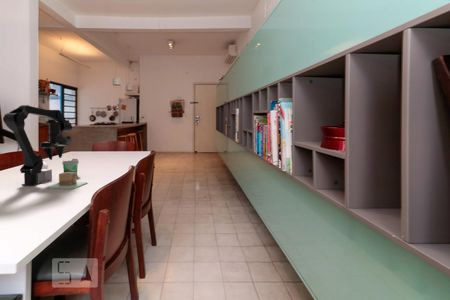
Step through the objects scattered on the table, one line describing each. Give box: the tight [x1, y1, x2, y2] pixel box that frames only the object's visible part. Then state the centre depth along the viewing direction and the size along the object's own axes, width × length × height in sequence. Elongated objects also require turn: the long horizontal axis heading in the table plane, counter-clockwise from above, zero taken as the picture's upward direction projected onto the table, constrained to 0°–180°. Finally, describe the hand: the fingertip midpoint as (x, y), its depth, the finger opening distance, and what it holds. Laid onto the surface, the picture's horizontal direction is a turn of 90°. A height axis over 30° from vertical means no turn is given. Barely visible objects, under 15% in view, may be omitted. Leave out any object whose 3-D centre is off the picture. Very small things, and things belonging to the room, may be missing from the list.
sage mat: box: [46, 181, 88, 190], centre depth 166 cm, size 14×14×1 cm
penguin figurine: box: [42, 161, 49, 169], centre depth 190 cm, size 6×8×12 cm
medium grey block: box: [38, 168, 53, 182], centre depth 179 cm, size 6×6×6 cm
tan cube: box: [58, 172, 78, 186], centre depth 166 cm, size 6×6×6 cm
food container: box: [62, 158, 79, 177], centre depth 193 cm, size 12×6×10 cm, turn 179°
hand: (55, 158), depth 181 cm, fingers open, 9 cm apart
